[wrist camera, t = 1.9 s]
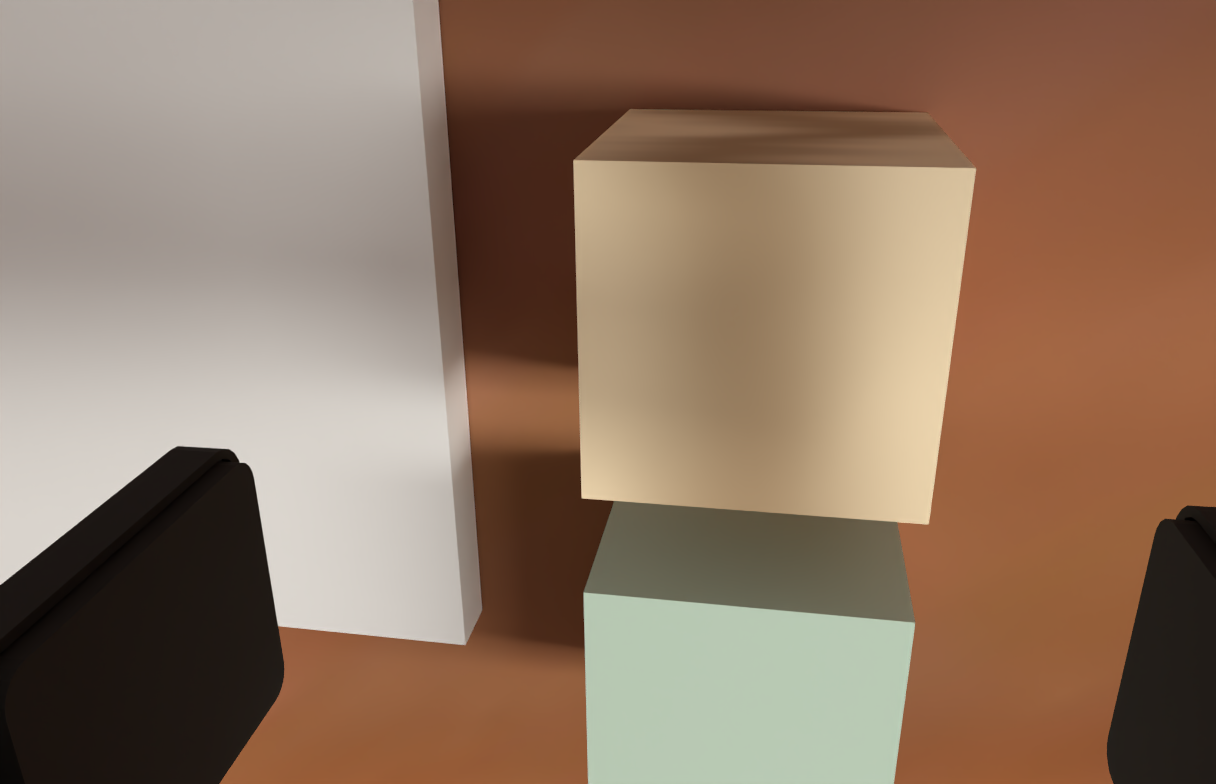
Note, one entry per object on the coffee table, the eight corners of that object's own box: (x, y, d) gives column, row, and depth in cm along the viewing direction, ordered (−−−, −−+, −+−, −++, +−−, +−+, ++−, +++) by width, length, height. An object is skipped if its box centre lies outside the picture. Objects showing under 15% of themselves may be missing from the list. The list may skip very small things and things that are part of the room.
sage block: (887, 467, 23) (914, 622, 18) (863, 675, 26) (882, 868, 20) (631, 449, 24) (583, 592, 19) (631, 652, 27) (589, 830, 21)
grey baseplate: (426, -158, 20) (399, -166, 18) (482, 610, 27) (465, 645, 25) (-341, -133, 22) (-414, -139, 21) (-106, 553, 30) (-150, 582, 28)
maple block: (926, 111, 20) (976, 167, 15) (896, 387, 22) (928, 524, 17) (630, 108, 21) (573, 160, 16) (631, 373, 23) (581, 498, 18)
